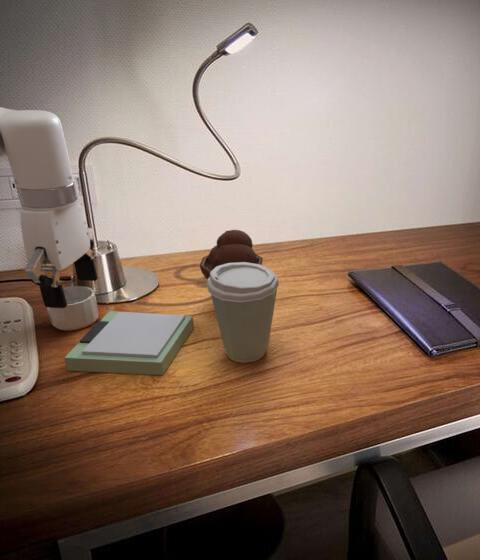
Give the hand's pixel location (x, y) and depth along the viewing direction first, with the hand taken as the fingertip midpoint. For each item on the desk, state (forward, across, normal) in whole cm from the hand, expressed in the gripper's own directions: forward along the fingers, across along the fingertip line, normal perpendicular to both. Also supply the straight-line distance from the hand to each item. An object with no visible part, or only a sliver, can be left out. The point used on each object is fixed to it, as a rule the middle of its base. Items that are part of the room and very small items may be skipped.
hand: (73, 292), depth 88 cm
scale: (+6, +7, +12) cm, 15 cm away
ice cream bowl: (+6, -8, +24) cm, 26 cm away
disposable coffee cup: (+6, +7, +30) cm, 32 cm away
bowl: (+6, 0, -1) cm, 6 cm away
